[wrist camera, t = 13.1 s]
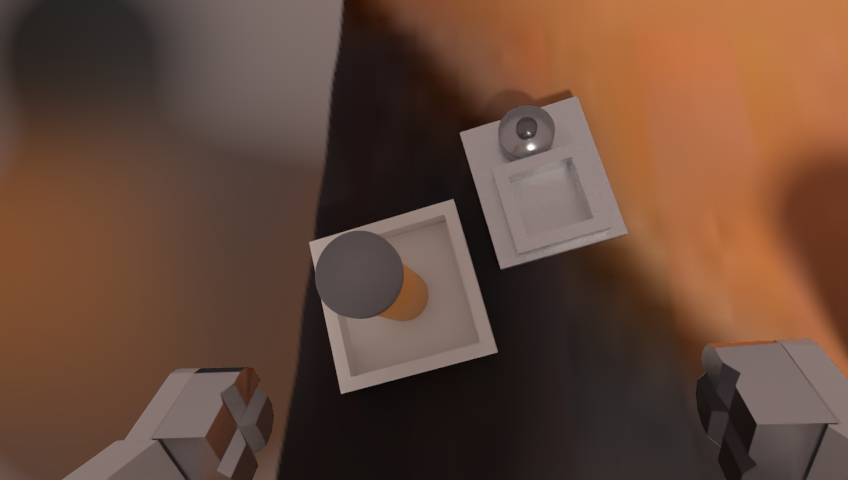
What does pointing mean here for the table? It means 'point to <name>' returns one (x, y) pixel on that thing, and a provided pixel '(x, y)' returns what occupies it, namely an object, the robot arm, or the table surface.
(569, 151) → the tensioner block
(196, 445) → the robot arm
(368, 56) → the table surface
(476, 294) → the tray
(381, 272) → the lock pin
